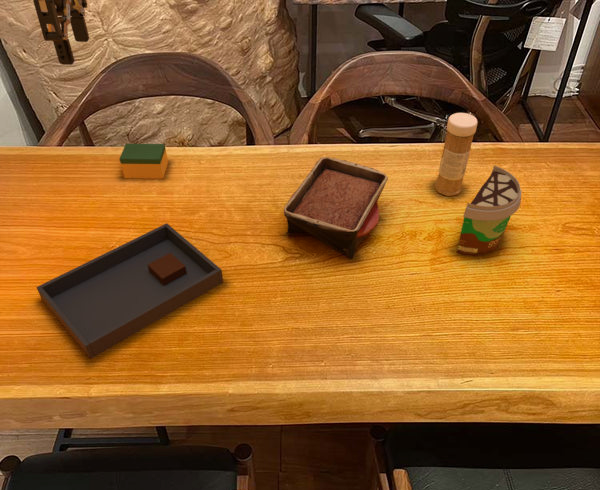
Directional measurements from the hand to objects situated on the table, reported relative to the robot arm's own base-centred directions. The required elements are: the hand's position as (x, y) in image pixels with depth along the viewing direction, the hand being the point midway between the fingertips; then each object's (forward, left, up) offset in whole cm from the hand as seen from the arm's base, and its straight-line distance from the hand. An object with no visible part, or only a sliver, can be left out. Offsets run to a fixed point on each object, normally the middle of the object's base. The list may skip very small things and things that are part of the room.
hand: (75, 52), depth 94 cm
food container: (+33, -61, -20) cm, 72 cm away
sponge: (+4, -8, -20) cm, 22 cm away
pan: (-14, -34, -20) cm, 42 cm away
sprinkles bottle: (+40, -48, -20) cm, 66 cm away
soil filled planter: (+18, -42, -20) cm, 50 cm away
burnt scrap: (-8, -34, -20) cm, 40 cm away
